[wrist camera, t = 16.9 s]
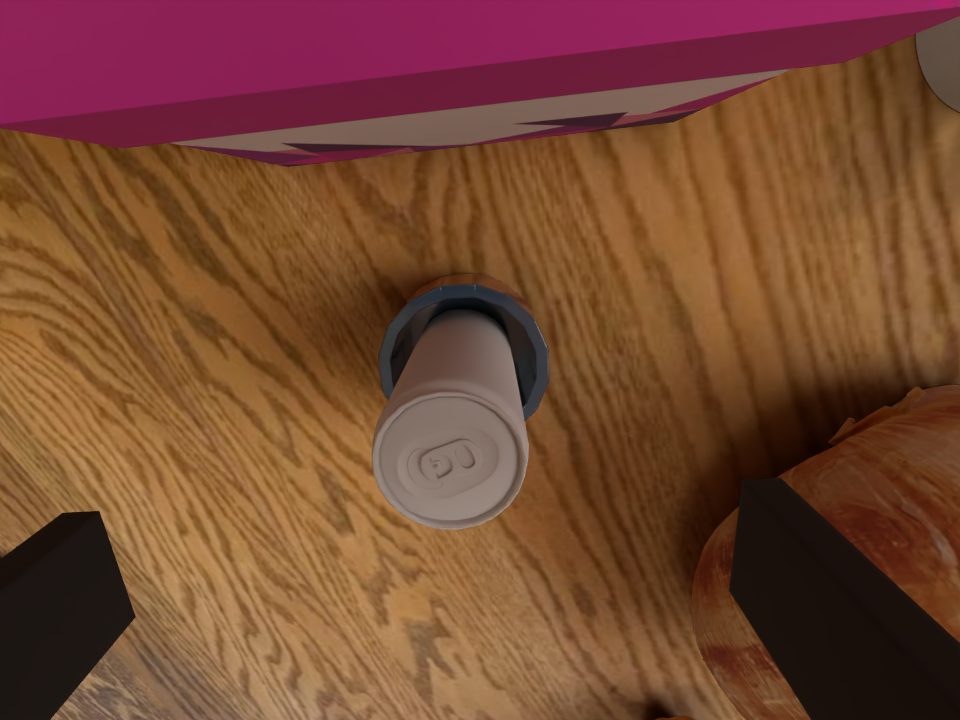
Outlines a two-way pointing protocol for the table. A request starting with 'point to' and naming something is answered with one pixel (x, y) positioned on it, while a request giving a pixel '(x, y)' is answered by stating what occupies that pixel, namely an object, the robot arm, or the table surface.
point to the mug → (941, 60)
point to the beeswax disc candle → (676, 718)
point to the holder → (479, 297)
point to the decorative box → (406, 67)
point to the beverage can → (453, 426)
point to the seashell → (851, 536)
